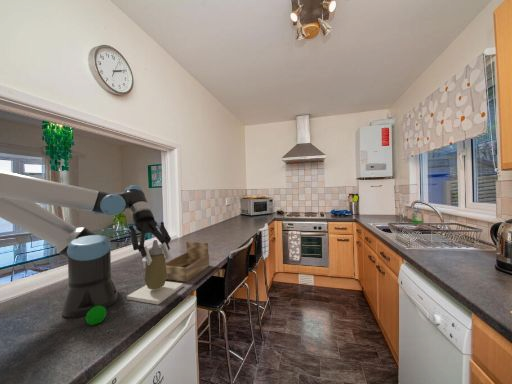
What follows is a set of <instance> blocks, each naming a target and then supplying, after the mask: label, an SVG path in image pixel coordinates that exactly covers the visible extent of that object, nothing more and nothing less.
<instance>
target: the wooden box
mask: <svg viewBox="0 0 512 384" xmlns="http://www.w3.org/2000/svg"><path fill="white" fill-rule="evenodd" d="M185 244H186V251H185V253H182V254H180V255H178V256H176V257H174V258H172V259H169V260H167V261H165V262H166V270H167V278H166V280H168V281H169V280H170V281H177V282H178V281H179V282H186V283H188V282H189V281H190V280H191V279H192V278H195V277H196V276H197V275H198V274H199V273H201V272H202V271H204V270H205V269H206V268H208V267H210V253H209V243H208V242H199V241H186V243H185ZM187 264H188V265H187ZM185 265H187V266H186V267H184V266H185Z"/></svg>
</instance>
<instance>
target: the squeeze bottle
mask: <svg viewBox="0 0 512 384" xmlns="http://www.w3.org/2000/svg"><path fill="white" fill-rule="evenodd" d="M148 251H149V254H150V256H151V259H152V262H151V264H150V265H148V264H147V261H146V267H145V269H144V282H145V285H147V287H148V288H149V289H158V288H161V287H162V286H164V284H165V281H166V280H167V279H166V278H167V270H166V262H167V261H166V260H165V254H164V253H163V249H162V247H160V246H159V243H158V239H156V240H155V239H154V240H153V241H152V247H151V249H148Z"/></svg>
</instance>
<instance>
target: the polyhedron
mask: <svg viewBox="0 0 512 384" xmlns="http://www.w3.org/2000/svg"><path fill="white" fill-rule="evenodd" d="M107 313H108V311H107V308H105V307H103V306H95V307H93V308H92V309H90V310H89V311H88V313H87V314H86V316H85V321H86V323H87V324H88V325H90V326H95V325H98V323H99V324H101V322H102V321H104V320H105V318H106V316H107Z"/></svg>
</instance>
